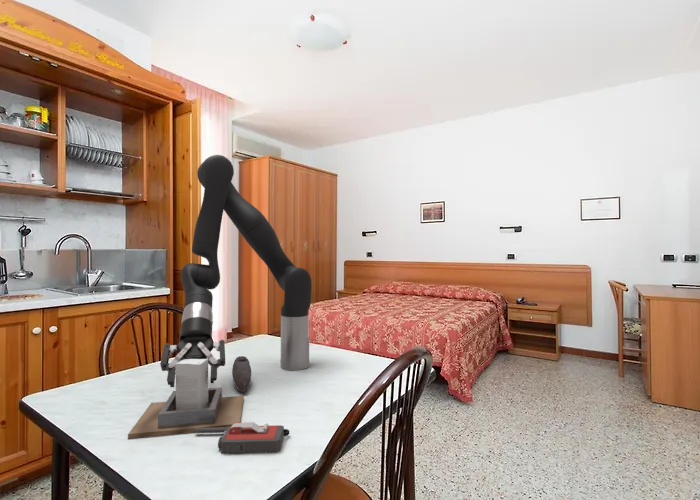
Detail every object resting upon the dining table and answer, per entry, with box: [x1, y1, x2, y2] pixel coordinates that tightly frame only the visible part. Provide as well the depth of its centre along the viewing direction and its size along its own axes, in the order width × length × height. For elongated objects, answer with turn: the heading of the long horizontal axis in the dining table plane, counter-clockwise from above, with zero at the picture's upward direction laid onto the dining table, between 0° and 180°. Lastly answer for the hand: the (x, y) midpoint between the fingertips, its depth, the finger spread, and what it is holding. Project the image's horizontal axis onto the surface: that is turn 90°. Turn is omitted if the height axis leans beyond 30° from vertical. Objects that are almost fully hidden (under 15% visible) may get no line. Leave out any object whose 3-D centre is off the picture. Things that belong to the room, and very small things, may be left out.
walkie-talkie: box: [195, 421, 290, 455], centre depth 75 cm, size 9×4×20 cm
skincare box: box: [175, 359, 209, 411], centre depth 87 cm, size 6×4×12 cm
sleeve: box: [158, 386, 223, 429], centre depth 86 cm, size 11×13×3 cm
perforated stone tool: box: [231, 355, 252, 393], centre depth 106 cm, size 15×5×7 cm, turn 17°
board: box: [127, 395, 245, 440], centre depth 86 cm, size 22×16×1 cm
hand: (192, 383), depth 85 cm, fingers open, 8 cm apart
